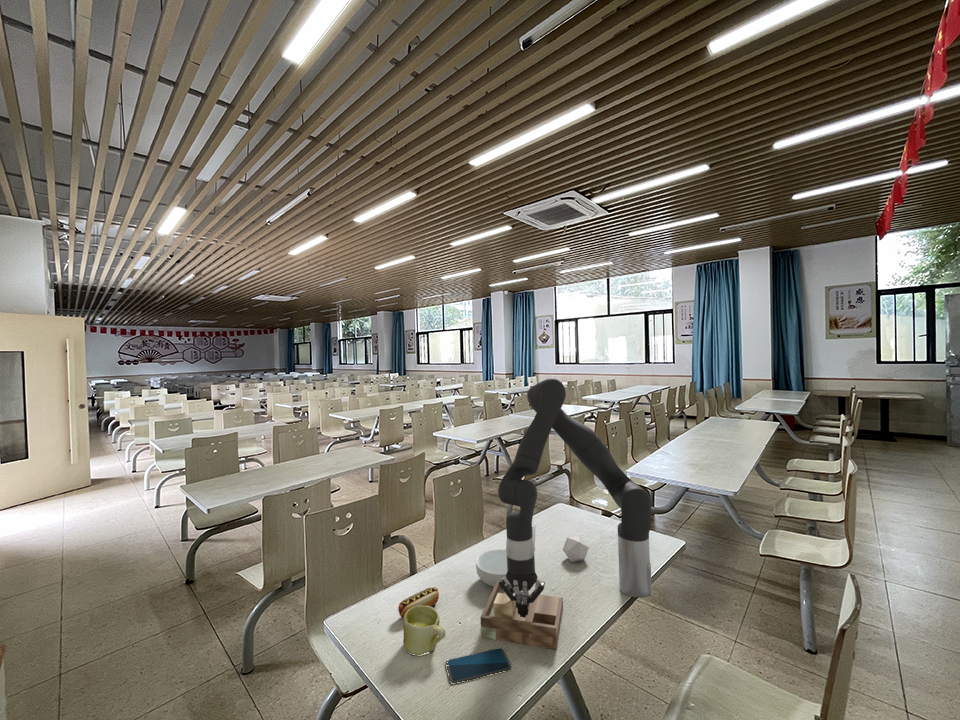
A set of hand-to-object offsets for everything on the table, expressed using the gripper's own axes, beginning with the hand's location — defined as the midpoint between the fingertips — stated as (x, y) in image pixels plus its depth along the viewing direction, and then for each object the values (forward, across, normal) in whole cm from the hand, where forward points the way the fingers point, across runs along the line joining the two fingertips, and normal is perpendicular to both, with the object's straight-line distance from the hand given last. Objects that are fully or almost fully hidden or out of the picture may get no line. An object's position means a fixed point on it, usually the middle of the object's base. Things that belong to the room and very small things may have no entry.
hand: (523, 615), depth 114 cm
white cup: (+4, +7, -47) cm, 48 cm away
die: (+5, -12, -43) cm, 44 cm away
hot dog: (+4, +32, -2) cm, 32 cm away
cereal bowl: (+4, +12, -23) cm, 26 cm away
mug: (+4, +24, +12) cm, 27 cm away
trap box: (+4, +1, -4) cm, 6 cm away
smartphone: (+5, +9, +15) cm, 18 cm away
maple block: (+1, +5, 0) cm, 5 cm away
